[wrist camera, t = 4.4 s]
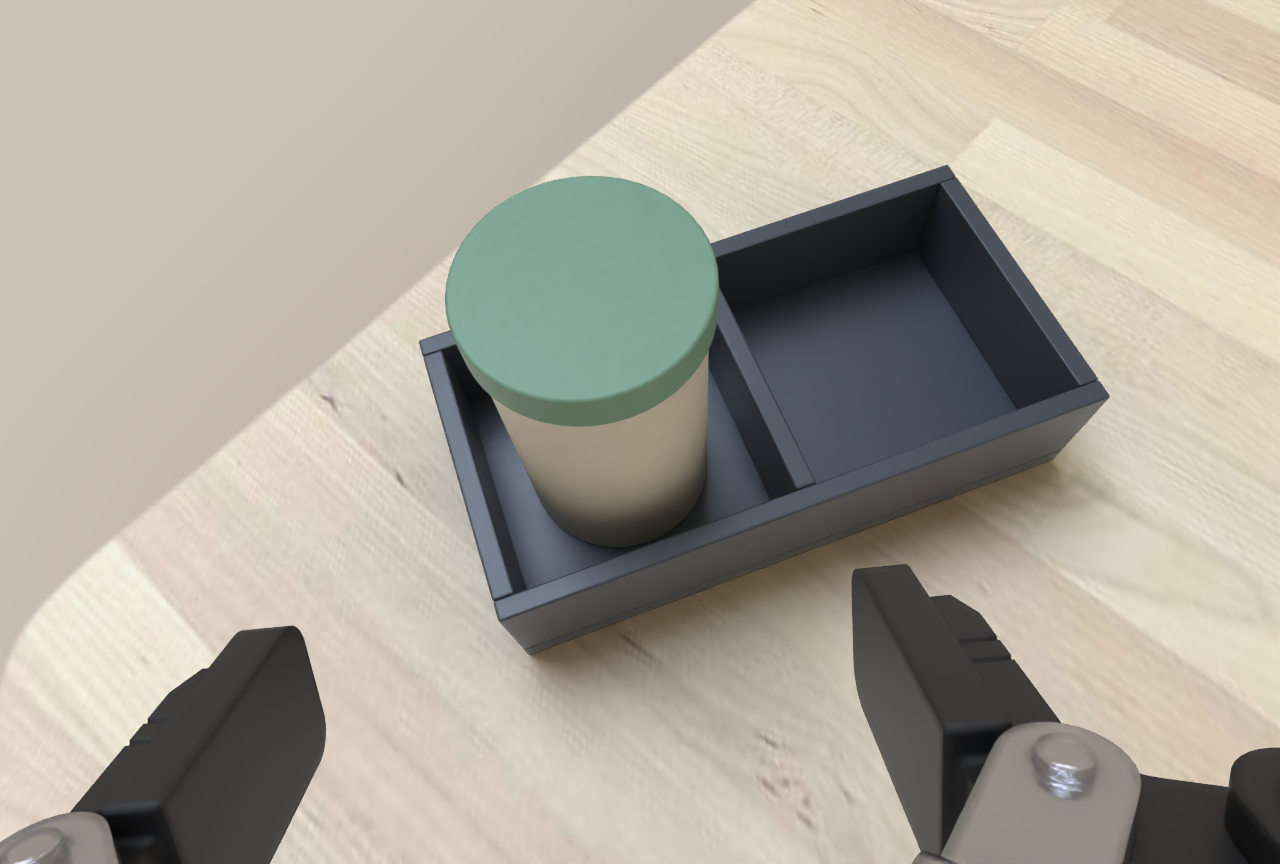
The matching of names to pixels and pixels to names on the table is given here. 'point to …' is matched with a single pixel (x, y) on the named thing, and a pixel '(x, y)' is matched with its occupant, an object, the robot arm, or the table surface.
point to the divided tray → (801, 407)
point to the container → (594, 348)
